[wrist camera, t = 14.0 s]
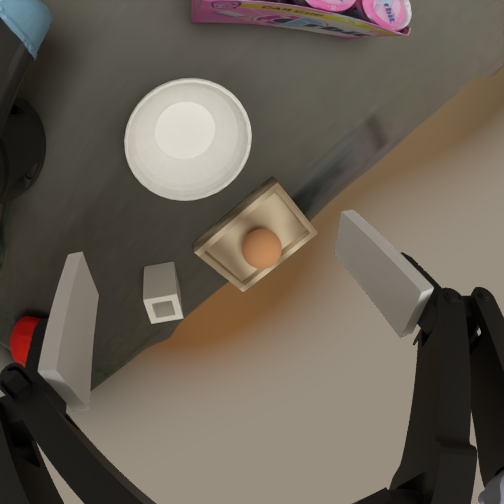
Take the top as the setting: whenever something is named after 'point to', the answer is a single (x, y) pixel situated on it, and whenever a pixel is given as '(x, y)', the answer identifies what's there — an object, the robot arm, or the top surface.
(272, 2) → the gum box
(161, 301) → the square tube
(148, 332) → the top surface
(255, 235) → the ball
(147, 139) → the bowl
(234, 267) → the tray
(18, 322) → the tomato
